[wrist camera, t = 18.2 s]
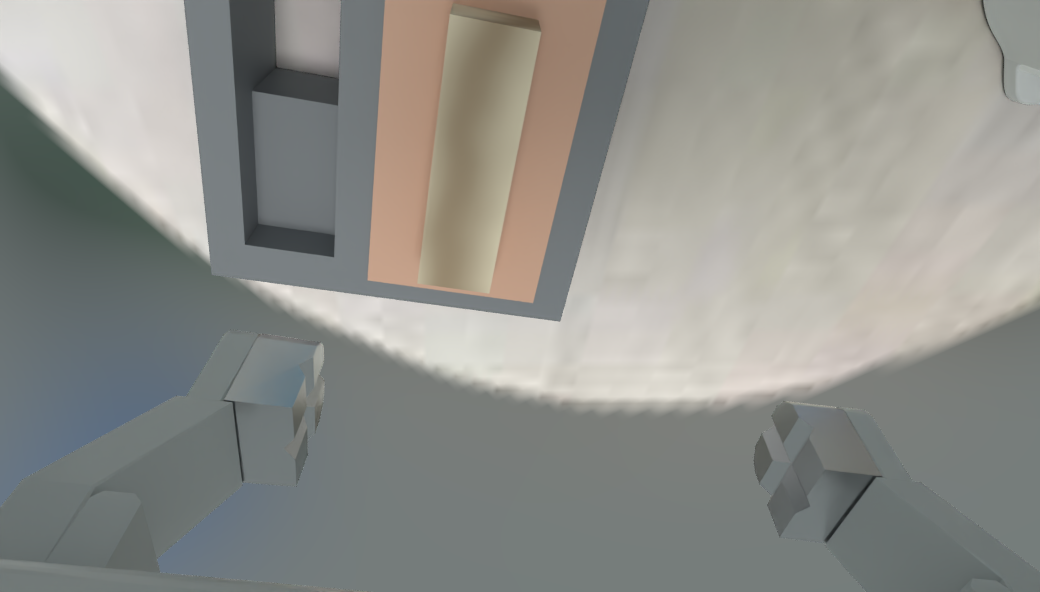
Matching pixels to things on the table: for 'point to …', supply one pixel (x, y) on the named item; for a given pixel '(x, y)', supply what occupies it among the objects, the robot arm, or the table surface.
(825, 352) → the table surface
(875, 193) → the table surface
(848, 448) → the robot arm
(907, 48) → the table surface
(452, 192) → the maple bar
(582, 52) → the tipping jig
